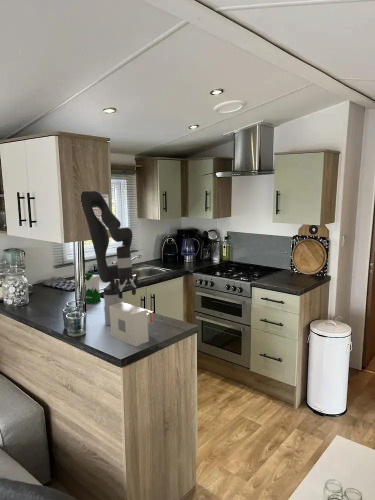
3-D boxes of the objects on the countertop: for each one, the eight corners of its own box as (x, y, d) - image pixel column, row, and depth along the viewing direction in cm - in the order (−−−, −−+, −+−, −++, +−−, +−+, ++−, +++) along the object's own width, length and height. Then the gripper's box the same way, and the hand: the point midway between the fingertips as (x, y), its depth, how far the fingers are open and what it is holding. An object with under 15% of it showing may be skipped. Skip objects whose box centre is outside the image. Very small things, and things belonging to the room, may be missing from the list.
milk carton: (83, 303, 253) (81, 273, 250) (92, 299, 261) (90, 271, 258) (94, 304, 249) (92, 274, 246) (103, 300, 257) (100, 271, 254)
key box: (111, 336, 193) (109, 305, 191) (124, 331, 199) (122, 302, 196) (135, 346, 179) (133, 313, 177) (148, 341, 185) (146, 309, 182)
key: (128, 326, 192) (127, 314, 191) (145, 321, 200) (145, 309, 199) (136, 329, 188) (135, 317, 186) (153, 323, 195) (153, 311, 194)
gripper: (131, 263, 205) (133, 292, 207) (109, 267, 195) (111, 298, 197) (140, 264, 200) (142, 294, 202) (118, 268, 190) (120, 300, 192)
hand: (127, 296), depth 200 cm, fingers open, 8 cm apart
